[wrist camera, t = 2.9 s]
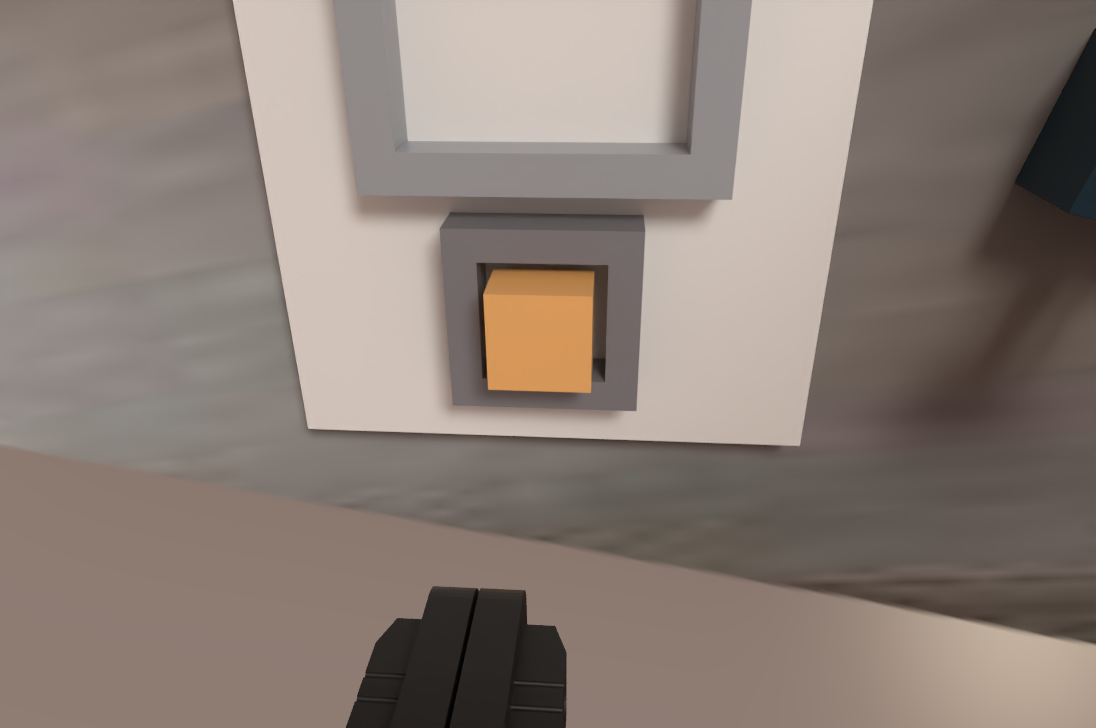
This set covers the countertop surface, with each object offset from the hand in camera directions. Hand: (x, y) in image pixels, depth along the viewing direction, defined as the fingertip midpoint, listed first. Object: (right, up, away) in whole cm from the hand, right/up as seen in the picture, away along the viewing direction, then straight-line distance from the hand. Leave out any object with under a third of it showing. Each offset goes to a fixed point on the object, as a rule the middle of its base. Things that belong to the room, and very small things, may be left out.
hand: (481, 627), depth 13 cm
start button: (+1, +6, +11) cm, 13 cm away
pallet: (+1, +13, +10) cm, 16 cm away
